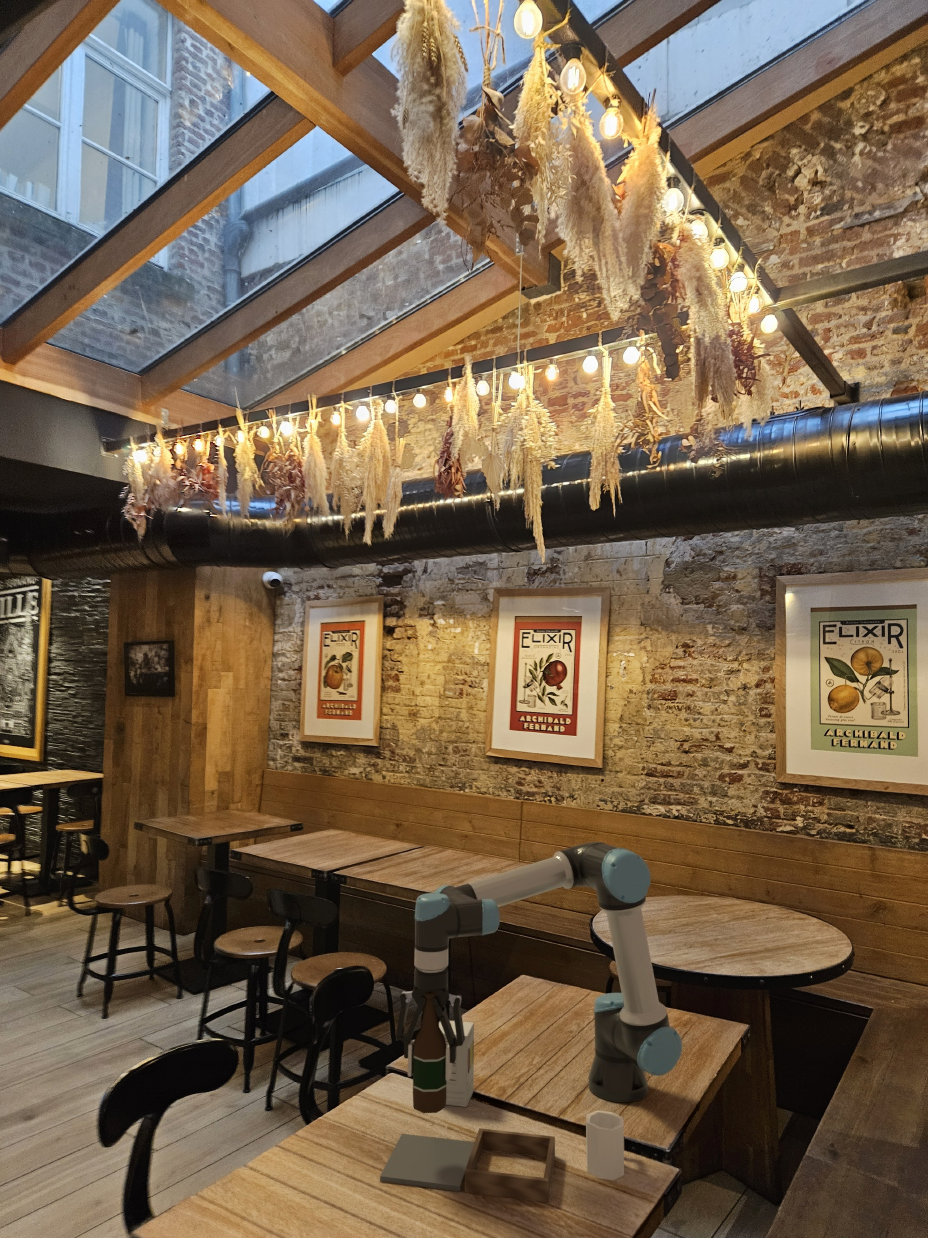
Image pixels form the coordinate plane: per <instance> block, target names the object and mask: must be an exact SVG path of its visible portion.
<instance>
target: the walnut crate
mask: <svg viewBox="0 0 928 1238" xmlns="http://www.w3.org/2000/svg"><path fill="white" fill-rule="evenodd" d="M473 1142H474V1145H473V1148H472V1151H471V1154H470V1157H469V1160H468V1163H467V1166H466V1169H465V1178H464V1193H468V1194H477V1195H484V1196H485V1195H487V1196H495V1197H503V1198H510V1199H517V1200H526V1201H535V1202H540V1203H541V1202H543V1203H549V1200H550V1199H549V1198H550V1192H551V1186H552V1185H551V1184H552V1178H553V1171H554V1165H555V1158H556V1136H555V1135H554V1136H553V1135H544V1134H542V1135H541V1134H535V1133H523V1132H515V1131H510V1130H509V1131H508V1130H507V1131H506V1130H499V1129H498V1130H497V1129H488V1128H481V1127H480V1128H478V1131H477V1134H476V1136H475V1139H474V1141H473ZM483 1151H489V1152H498V1153H506V1154H513V1155H514V1154H515V1155H520V1156H521V1155H523V1156H532V1157H538V1158H539V1157H540V1158H541V1157H542V1158H546V1159H545V1160H546V1161H545V1167H544V1173H543V1177H542V1176H541V1177H539V1176H532V1175H524V1174H516V1173H508V1172H507V1173H506V1172H499V1171H492V1170H490V1171H489V1170H481V1169H478V1167H479V1163H480V1160H481V1157H482V1153H483Z"/></svg>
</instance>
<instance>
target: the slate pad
mask: <svg viewBox="0 0 928 1238" xmlns="http://www.w3.org/2000/svg"><path fill="white" fill-rule="evenodd" d="M474 1142H475V1141H471V1140H462V1139H461V1140H460V1139H454V1138H442V1137H437V1136H436V1137H435V1136H425V1135H417V1134H416V1135H415V1134H411V1133H410V1134H409V1133H401V1134H400V1136H399V1138H398V1140H397V1142H396V1144H395V1146H394V1148H393V1150H392V1152H391V1154H390V1156H389V1158H388V1159H387V1162H386V1163H385V1166H384V1168H383V1170H382V1171H381V1174H380V1176H379V1182H382V1183H383V1182H384V1183H391V1184H399V1185H406V1186H414V1187H421V1188H422V1187H423V1188H430V1189H431V1188H432V1189H438V1190H447V1191H454V1192H461V1189H462V1187H463V1183H464V1182H465V1169H466V1166H467V1163H468V1160H469V1157H470V1154H471V1151H472V1148H473V1145H474Z"/></svg>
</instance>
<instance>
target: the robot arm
mask: <svg viewBox="0 0 928 1238" xmlns="http://www.w3.org/2000/svg"><path fill="white" fill-rule="evenodd" d="M651 882H652V881H651V871H650V868H649V866H648V864H647V862H646V861H645V860H644V859H643V858H642V856H640V855H639V854H637V853H635V852H633V851H632V850H629V849H627V848H623V847H618V846H614V845H611V844H608V843H605V842H599V841H592V842H591V841H590V842H585V843H581V844H577V845H574V846H571V847H568V848H565V849H564V848H563V849H562V850H561V849H560V850H557V851H556V852H554V854H553V856H552V857H550V858H546V859H543V860H540V861H536V862H533V863H529V864H526V865H523V866H519V867H517V868H513V869H510V870H508V871H507V870H506V871H504V872H501V873H498V874H494V875H491V876H488V877H485V878H481V879H478V880H475V881H471V882H468V883H465V884H461V885H457V886H453V885H448V884H446V885H445V884H443V885H442V886H439V887H437V889H436V890H435V891H434V892H430V893H427V892H426V893H422V894H421V895H419V896H418V897H417V898H416V901H415V906H414V907H415V908H414V909H415V911H414V967H415V968H414V970H413V971H414V972H413V975H414V976H413V979H414V980H413V989H412V990H411V991H407V990H402V992H401V994H400V995H399V1002H400V1007H399V1008H400V1010H399V1015H398V1022H397V1028H396V1033H395V1039H396V1041H401V1042H402V1043H403V1058H404V1059H405V1060H406V1059H407V1077H413V1050H414V1041H415V1039H412V1038H413V1035H414V1033H415V1031H416V1028H417V1026H418V1025H419V1024H418V1023H419V1021H420V1019H421V1017H422V1015H423V1010H424V1005H425V1002H426V998H425V997H424V993H426V992H429V993H435V995H436V996H435V998H433V999H432V1003H433V1006H434V1008H435V1012H436V1013H437V1016H438V1019H439V1022H441V1025H442V1027H443V1030H444V1033H445V1035H446V1038H447V1041H448V1046H447V1048H446V1080H449V1079H450V1077H451V1075H452V1063H454V1062H455V1060H456V1047H457V1046H462V1045H463V1043H464V1040H465V1035H464V1028H463V1022H464V1021H463V1016H462V1013H463V1012H462V1008H461V1007H462V1006H461V1004H462V1000H463V997H462V995H461V994H457V995H454V994H451V992H450V990H449V968H448V966H449V944H450V943H449V941H450V939H453V938H454V939H455V938H460V937H461V938H463V937H472V936H475V937H476V936H485V935H489V934H494V933H496V932H497V930H498V928H499V927H500V921H501V919H500V918H501V917H500V910H499V908H500V907H503V906H506V905H509V904H511V903H516V902H518V901H521V900H524V899H527V898H531V897H534V896H537V895H540V894H544V893H546V892H550V891H552V890H556V889H559V888H563V889H565V890H570V889H572V888H573V889H574V888H577V887H584V888H591V889H592V890H595V891H596V896H597V897H596V899H597V902H598V907H599V909H600V910H602V911H604V912H605V913H606V916H607V921H608V922H607V923H608V928H609V933H610V938H611V943H612V949H613V955H614V960H615V964H616V969H617V970H616V971H617V976H618V981H619V985H620V986H619V987H620V991H621V992H610V993H609V992H608V993H603V994H600V995H599V996H597V997H596V998H595V1000H594V1010H593V1013H594V1015H593V1016H594V1057H593V1060H592V1063H591V1068H590V1070H589V1073H588V1077H587V1078H588V1081H587V1082H588V1089H589V1090H590V1093H592V1094H593V1095H595V1096H596V1097H598V1098H600V1099H603V1100H606V1101H610V1102H615V1103H632V1102H637V1101H641V1100H642V1099H644V1098H645V1097H647V1095H648V1093H649V1089H648V1088H649V1087H648V1085H649V1084H648V1080H647V1079H648V1078H647V1075H646V1073H648V1074H650V1075H652V1076H657V1077H659V1076H664V1075H666V1074H668V1073H670V1072H671V1071H672V1070H673V1069H674V1068H675V1067H676V1065H677V1064H678V1061H679V1060H680V1058H681V1055H682V1052H683V1051H682V1050H683V1042H682V1038H681V1036H680V1034H679V1032H678V1031H677V1030H676V1028H673V1027H671V1024H670V1021H669V1020H670V1019H669V1015H668V1010H667V1008H666V1006H665V1005H664V1004H663V1003H661V1002H660V1001H659V995H658V990H657V985H656V980H655V975H654V969H653V964H652V958H651V952H650V949H649V947H650V946H649V944H648V943H649V942H648V937H647V936H648V935H647V931H646V927H645V922H644V916H643V910H642V908H643V906H644V905H646V902H647V898H646V895H647V894H648V892H649V890H648V889H649V888H650V886H651ZM412 999H413V1000H414V1002H415V1003H416V1009H415V1011H414V1014H413V1017H412V1019H411V1022H410V1024H409V1026H408V1029H407V1031H406V1032H405V1029H406V1023H407V1017H408V1012H409V1011H408V1010H409V1004H410V1002H411V1001H412ZM449 1001H450V1006H452V1013H453V1014H452V1015H453V1021H455V1029H456V1036H457V1038H456V1037H455V1034H454V1031H453V1029H452V1026H451V1023H450V1021H451V1020H450V1018H449V1014H448V1012H447V1007H446V1004H447V1002H449Z"/></svg>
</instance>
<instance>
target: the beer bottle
mask: <svg viewBox="0 0 928 1238" xmlns="http://www.w3.org/2000/svg"><path fill="white" fill-rule="evenodd" d="M435 996H436V995H435V993H429V992H426V993H424V997H425V998H426V1002H425V1005H424V1010H423V1012H422V1021H421V1026H420V1029H419V1030H418V1032H417V1033H416V1036H415V1038H414V1040H415V1041H414V1050H413V1074H412V1104H413V1105H412V1106H413V1109H414V1110H416V1111H417V1112H420V1113H422V1114H437V1113H439V1112H440V1111H442V1110H445V1108H446V1107H447V1105H446V1082H447V1080H446V1041H445V1037H444V1034H443V1032H442V1031H441V1029H440V1028H439V1022H440V1019H439V1018H438V1016H437V1013H436V1012H435V1008H434V1006H433V1003H432V999H433V998H435Z"/></svg>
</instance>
